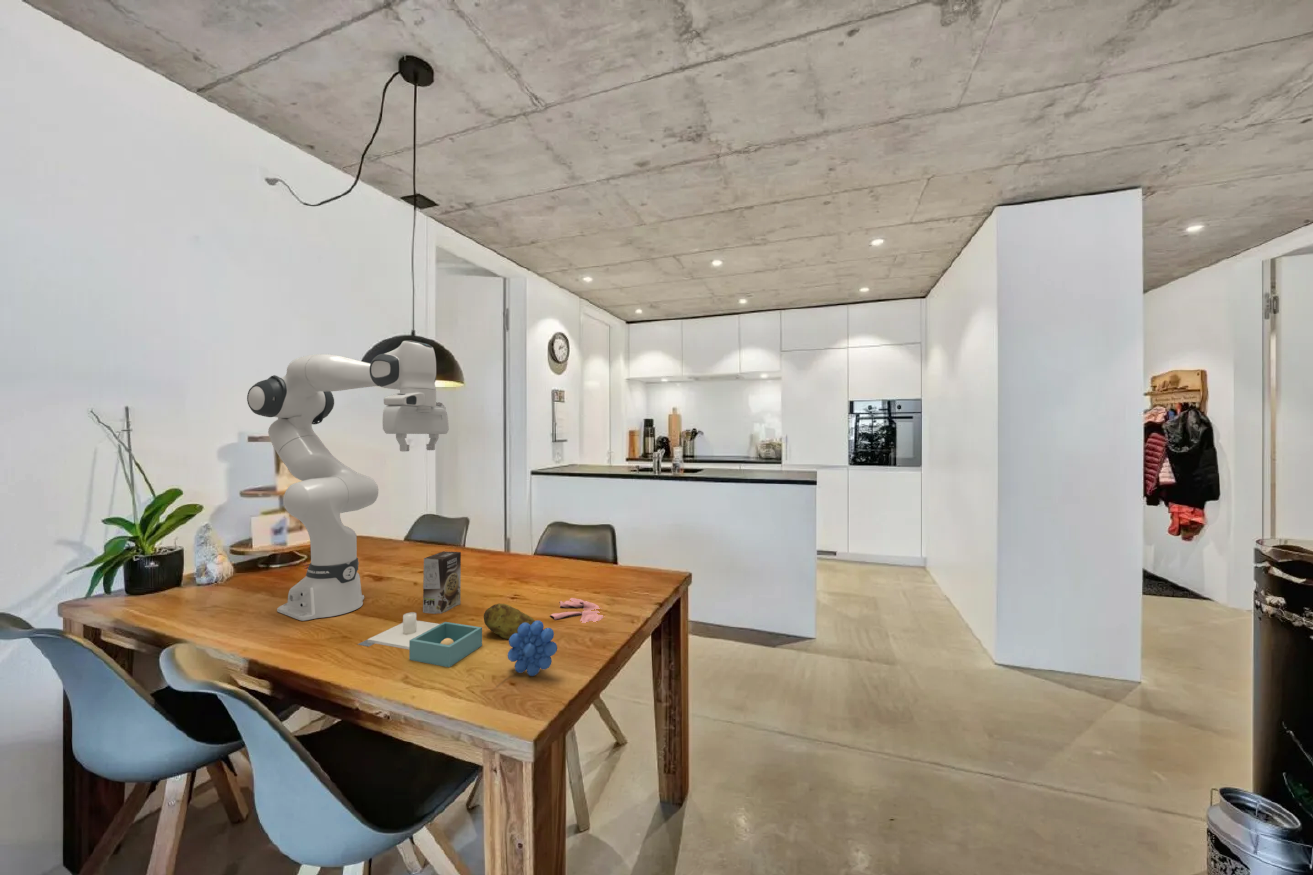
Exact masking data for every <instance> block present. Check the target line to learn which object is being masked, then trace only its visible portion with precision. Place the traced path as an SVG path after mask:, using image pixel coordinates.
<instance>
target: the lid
mask: <svg viewBox="0 0 1313 875" xmlns="http://www.w3.org/2000/svg"><path fill="white" fill-rule="evenodd" d="M440 624H441V623H437V622H436V623H435V622H429V621H423V620H417V612H415V611H414V612H413V611H411V612H406V613H403V615H402V622H401V623H399V624H398V625H395V626H392V627H390V628H388V629H387V630H383V631H382V632H380V633H378V634H376V635H374V636H371V637H369V638H367V639H366V640H367V643H372V644H373V645H375V644H376V645H381V646H382V645H383V646H388V647H394V648H399V649H405V650H409V640H411V639H413V638H415V637H417V636H419V635H421V634H423V633H424V632H426V631H428V630H430V629H432V628H434V627H436V626H438V625H440Z"/></svg>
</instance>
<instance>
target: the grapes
mask: <svg viewBox="0 0 1313 875" xmlns="http://www.w3.org/2000/svg"><path fill="white" fill-rule="evenodd" d="M517 631H518V633H514V634H512V635H511V637H510V638H509V639H508V644H509V647H510V649H509V650H508V652H507V660H509V661H510V662H515V663H514V670H515V672H517V673H518V674H522V673H524V672H526V674H527V675H528V676H530V677H534V676H536V675H538V674H539V672H540V669H541V670H543V671H544V670H547V669H549V668H550V667H551V665H552V663H553V662H552V657H553V656H554V655H555V654H556V653H557V651H558V645H557V643H556V642H555V641H552V640H553V639H554V636H555V633H554V630H553V629H552V628H551V627H546V628H545V626H544V622H543V621H541V620H539V619H537V620H535V621H534V622H533V623H532V624H531V626H530V624H528V623H525V622H524V623H522V624H521V625H520V626H519V627H518V630H517Z"/></svg>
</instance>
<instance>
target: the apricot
mask: <svg viewBox="0 0 1313 875" xmlns="http://www.w3.org/2000/svg"><path fill="white" fill-rule="evenodd" d="M453 642H454V641H453V640H452V639H450V638H446V639H444V640H442V641H441V643H440V644H445V645H450V644H452V643H453Z"/></svg>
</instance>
